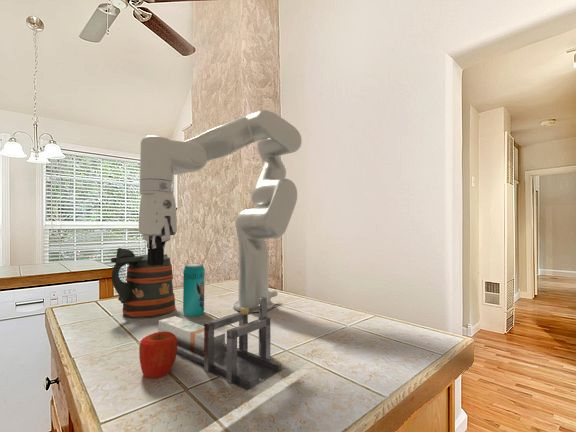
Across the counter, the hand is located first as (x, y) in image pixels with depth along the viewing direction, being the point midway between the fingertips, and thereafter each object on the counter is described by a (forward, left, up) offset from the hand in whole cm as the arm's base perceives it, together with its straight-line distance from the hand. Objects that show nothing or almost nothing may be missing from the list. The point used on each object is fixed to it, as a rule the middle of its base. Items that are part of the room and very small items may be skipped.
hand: (155, 264), depth 73 cm
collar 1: (0, +26, -17) cm, 31 cm away
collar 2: (0, +32, -17) cm, 36 cm away
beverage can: (-14, -5, -17) cm, 23 cm away
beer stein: (-7, -20, -17) cm, 27 cm away
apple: (+10, +20, -17) cm, 28 cm away
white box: (0, +14, -16) cm, 21 cm away
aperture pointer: (-4, +29, -17) cm, 34 cm away
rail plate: (0, +20, -17) cm, 26 cm away
